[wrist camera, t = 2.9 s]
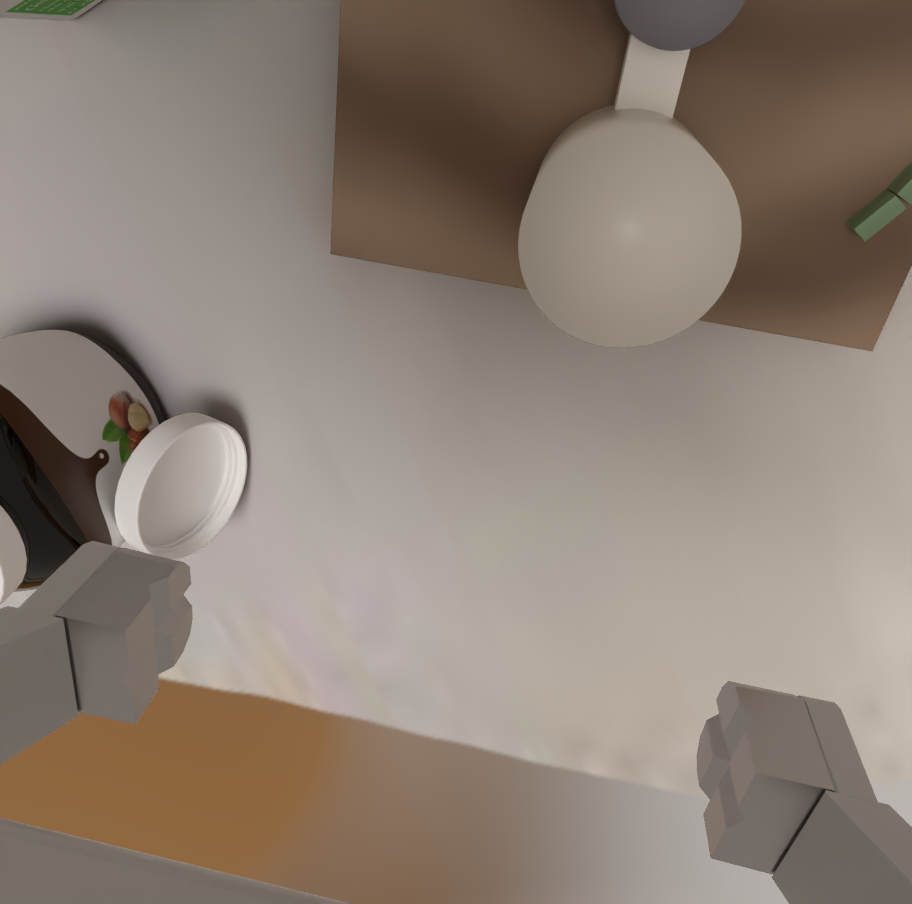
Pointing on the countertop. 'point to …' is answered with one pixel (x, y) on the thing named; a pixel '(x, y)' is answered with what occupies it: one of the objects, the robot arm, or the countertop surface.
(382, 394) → the countertop surface
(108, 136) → the countertop surface
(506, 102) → the wooden cutting board
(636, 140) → the lever
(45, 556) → the spread jar
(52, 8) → the skincare box
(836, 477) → the countertop surface
